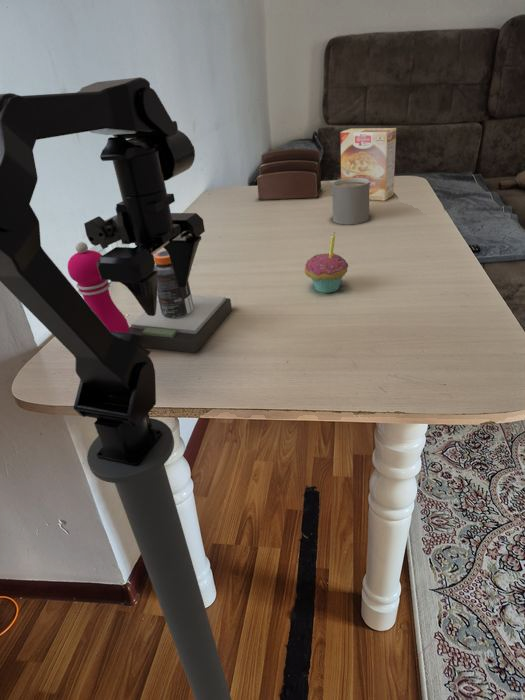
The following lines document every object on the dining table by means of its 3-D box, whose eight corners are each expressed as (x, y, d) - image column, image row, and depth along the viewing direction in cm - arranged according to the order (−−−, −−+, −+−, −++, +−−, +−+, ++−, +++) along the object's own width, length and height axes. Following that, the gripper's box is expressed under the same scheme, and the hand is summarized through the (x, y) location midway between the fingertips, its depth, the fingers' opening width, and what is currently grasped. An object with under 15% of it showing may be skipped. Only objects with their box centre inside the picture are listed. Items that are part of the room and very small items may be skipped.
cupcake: (354, 283, 99) (354, 225, 93) (337, 300, 93) (335, 240, 87) (317, 277, 103) (314, 222, 97) (298, 293, 98) (294, 236, 91)
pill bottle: (200, 308, 88) (189, 250, 83) (175, 322, 85) (162, 261, 79) (180, 301, 92) (168, 244, 86) (155, 314, 89) (140, 255, 83)
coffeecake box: (340, 198, 154) (339, 131, 144) (350, 192, 159) (350, 127, 149) (385, 201, 146) (387, 131, 136) (394, 194, 151) (397, 127, 141)
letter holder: (265, 192, 169) (261, 150, 162) (321, 190, 164) (320, 146, 157) (258, 200, 161) (253, 156, 154) (317, 198, 156) (315, 152, 149)
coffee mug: (368, 223, 130) (369, 185, 125) (331, 225, 132) (330, 187, 127) (369, 209, 141) (370, 173, 136) (335, 210, 143) (334, 175, 138)
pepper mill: (84, 360, 83) (45, 249, 73) (110, 339, 89) (77, 233, 78) (118, 366, 80) (83, 251, 70) (142, 343, 86) (113, 235, 75)
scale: (195, 353, 82) (192, 336, 80) (126, 345, 86) (121, 329, 85) (232, 309, 94) (229, 294, 93) (169, 305, 99) (166, 290, 97)
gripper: (130, 174, 72) (153, 272, 80) (43, 212, 57) (82, 327, 65) (197, 173, 68) (213, 275, 76) (122, 213, 53) (153, 334, 62)
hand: (168, 300), depth 70 cm, fingers open, 9 cm apart
